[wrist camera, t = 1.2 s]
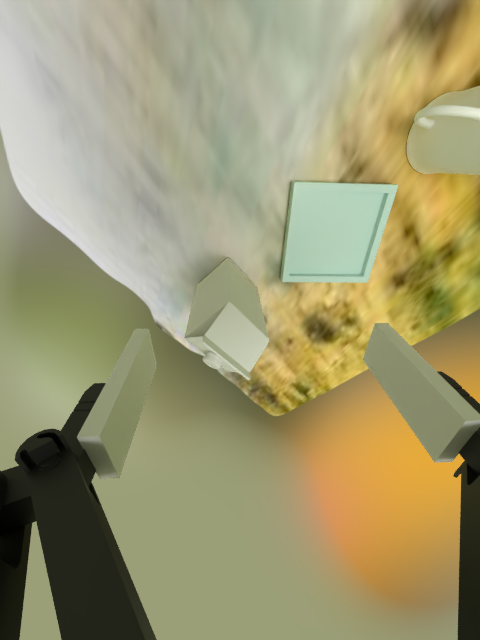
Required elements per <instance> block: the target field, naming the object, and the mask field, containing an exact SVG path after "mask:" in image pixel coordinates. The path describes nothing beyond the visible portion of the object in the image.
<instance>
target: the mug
mask: <svg viewBox="0 0 480 640" xmlns="http://www.w3.org/2000/svg"><path fill="white" fill-rule="evenodd" d="M406 151H407V158H408V161H409V163H410V165H411V166H412V168H413V169H415V170H416V171H417V172H419V173H422V174H435V173H454V174H472V175H480V86H477V87H474V88H470V89H467V90H464V91H453V92H448V93H445V94H443V95H441V96H439V97H437V98H435V99H434V100H433V101H431V102H430V103H429V104H428V105H427V106H426V107H425V108H423V109H421V110H420V111H418V112H417V114H416V116H415V118H414V123H413V125H412V127H411V130H410V132H409V135H408V139H407V147H406Z"/></svg>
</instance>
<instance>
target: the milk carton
mask: <svg viewBox="0 0 480 640" xmlns="http://www.w3.org/2000/svg"><path fill="white" fill-rule="evenodd" d="M185 339H186V340H188V341H189V342H190V343H191V344H193V345H194V346H195V347H197V348H198V349H199V350H200V351H202V352H203V353H204V354H206V355H205V356H204V358H203V361H204V362H205V363H206V364H207V365H208V366H210V367H212V368H214V369H219V368H220V367H222V368H223V369H225V370H226V371H231V372H239V373H240V374H241V375H243V376H244V377H245V378H246V379H247V380H250V372H251V370H252V368H253V367H254V365H255V363H256V362H257V360H258V359H259V357H260V355H261V354H262V352H263V351H264V349H265V347H266V346H267V344H268V342H269V341H270V340H269V337H268V332H267V328H266V324H265V320H264V316H263V312H262V308H261V304H260V299H259V295H258V291H257V287H256V286H255V285H254V284H253V283H252V282H251V281H250V279H249V278H248V277H247V276H246V275H245V274H244V273H243V272H242V271H241V270H240V269H239V268H238V267H237V266H236V265H235V263H234V262H233V261H232V260H231V259H230V258H229V257H228V258H227V259H225V260H224V261H223V262H222V263H221V264H220V265H219V266H218V267H216V268H215V269H214V270H213V271H212V272H211V273H210V274H209V275H208V276H206V277H205V278H204V279H203V280H202V281H201V282H200V283H199V284H197V286H196V291H195V295H194V299H193V304H192V308H191V312H190V316H189V321H188V325H187V329H186V334H185Z"/></svg>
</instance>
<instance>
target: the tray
mask: <svg viewBox="0 0 480 640" xmlns="http://www.w3.org/2000/svg"><path fill="white" fill-rule="evenodd" d="M397 188H398V185H395V184H375V183H339V182H303V181H291V190H290V198H289V207H288V215H287V224H286V232H285V241H284V249H283V258H282V266H281V275H280V278H281V280H282V282H368V280H369V276H370V273H371V270H372V267H373V264H374V261H375V257H376V254H377V251H378V248H379V245H380V242H381V239H382V235H383V232H384V229H385V226H386V223H387V220H388V216H389V213H390V210H391V207H392V204H393V201H394V197H395V194H396V191H397Z"/></svg>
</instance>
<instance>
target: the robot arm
mask: <svg viewBox="0 0 480 640" xmlns="http://www.w3.org/2000/svg"><path fill="white" fill-rule="evenodd" d="M363 360H364V362H365V363H366V365H367V366H368V367H369V369H370V370H371V372H372V373H373V374H374V376H375V377H376V379H377V380H378V382H379V383H380V384H381V386H382V387H383V389H384V390H385V392H386V393H387V395H388V396H389V397H390V399H391V400H392V402H393V403H394V405H395V406H396V407H397V409H398V410H399V412H400V413H401V414H402V416H403V418H404V419H405V420H406V422H407V423H408V425H409V426H410V428H411V429H412V430H413V432H414V433H415V435H416V436H417V438H418V439H419V440H420V442H421V443H422V445H423V446H424V447H425V449H426V450H427V452H428V453H429V455H430V456H431V458H432V459H433V461H434V462H452V461H453V460H454V459H455V457H456V456H457V455H458V454H460V455H461V456H462V457H463V459H464V460H465V461H464V462H463V463H462V465H461V466H460V467H459V468H458V469H457V471H456V472H455V473H454V477H458V475H459V474H461V517H460V562H459V609H458V640H480V404H479V403H478V402H477V401H476V400H475V399H474V398H473V397H470V395H469V394H468V393H467V392H466V391H465V390H464V389H462V387H461V386H460V385H459V384H458V383H457V382H456V381H455V380H453V379H452V378H451V377H449V376H448V375H446V374H444V373H443V372H437V371H435V369H434V368H433V367H431V366H430V365H429V364H428V363H427V362H426V361H425V360H424V359H423V358H422V357H421V356H420V355H419V354H418V353H417V352H416V351H415V350H414V349H413V348H412V347H411V346H410V345H409V344H408V343H407V342H406V341H405V340H404V339H403V338H402V337H401V336H400V335H399V334H398V333H397V332H396V331H395V330H394V329H393V328H392V327H391V326H390V325H389V324H388V323H375V325H374V328H373V331H372V334H371V337H370V340H369V343H368V346H367V349H366V352H365V355H364V358H363ZM156 367H157V363H156V359H155V354H154V350H153V346H152V341H151V336H150V332H149V329H135V330H134V332H133V334H132V336H131V338H130V340H129V341H128V343H127V345H126V347H125V349H124V351H123V352H122V354H121V356H120V358H119V360H118V362H117V364H116V366H115V367H114V369H113V371H112V373H111V375H110V376H109V378H108V380H107V382H106V383H95V384H93V385H92V386H91V387H90V388H89V389H88V390H86V391H85V393H84V394H83V395H82V397H81V399H80V401H79V403H78V404H77V405H76V407H75V409H74V412H72V414H71V415H70V417H69V419H68V420H67V422H66V424H65V425H64V427H63V428H62V430H61V431H59V430H56V429H47V430H43V431H41V432H38V433H36V434H34V435H33V436H31V437H30V438H28V439H27V440H26V441H25V442H24V443H23V444H22V445H21V446H20V447H19V449H18V451H17V452H16V456H15V461H16V462H17V463H18V464H19V466H17V467H14V468H10V469H7V470H4V471H0V640H19V637H20V628H21V619H22V610H23V600H24V590H25V583H26V573H27V564H28V555H29V546H30V537H31V528H32V523H33V522H35V521H37V526H38V530H39V535H40V540H41V545H42V549H43V554H44V558H45V563H46V568H47V573H48V577H49V582H50V586H51V591H52V596H53V601H54V606H55V610H56V614H57V620H58V624H59V629H60V633H61V638H62V640H156V637H155V635H154V633H153V630H152V628H151V626H150V623H149V620H148V618H147V615H146V613H145V611H144V608H143V606H142V603H141V601H140V599H139V596H138V593H137V591H136V589H135V586H134V584H133V581H132V579H131V577H130V574H129V572H128V569H127V567H126V564H125V562H124V560H123V557H122V555H121V552H120V550H119V547H118V545H117V542H116V540H115V538H114V535H113V533H112V530H111V528H110V526H109V523H108V521H107V518H106V516H105V513H104V511H103V509H102V506H101V503H100V501H99V499H98V496H97V494H96V491H95V489H94V486H93V484H92V483H91V481H92V479H93V477H94V474H95V472H96V473H97V475H98V476H99V478H100V479H107V478H119V477H120V474H121V471H122V469H123V466H124V462H125V459H126V457H127V454H128V451H129V448H130V445H131V441H132V439H133V435H134V433H135V429H136V427H137V424H138V421H139V418H140V415H141V412H142V409H143V406H144V403H145V400H146V397H147V394H148V391H149V388H150V385H151V382H152V379H153V376H154V373H155V370H156Z"/></svg>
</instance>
